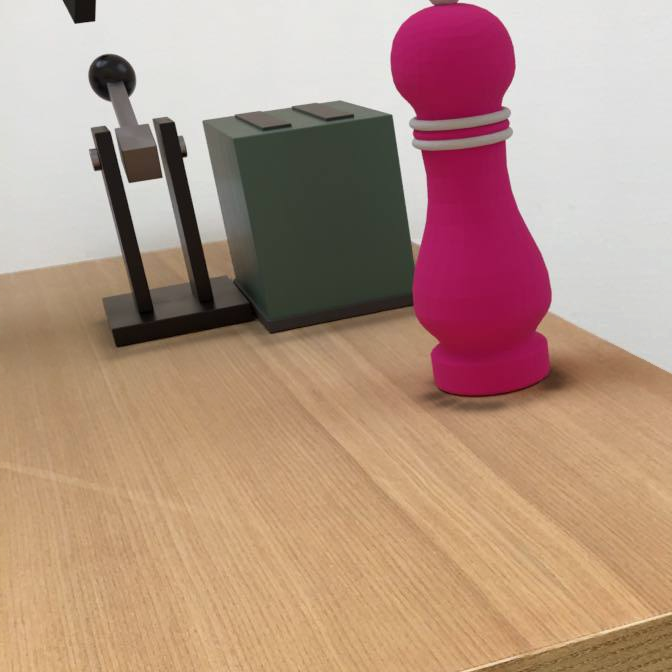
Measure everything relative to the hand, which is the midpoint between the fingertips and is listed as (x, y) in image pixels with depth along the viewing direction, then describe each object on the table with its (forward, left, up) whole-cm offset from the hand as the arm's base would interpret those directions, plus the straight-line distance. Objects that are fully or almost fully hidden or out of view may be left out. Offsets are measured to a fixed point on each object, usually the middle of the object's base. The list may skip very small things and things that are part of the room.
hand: (85, 7), depth 86 cm
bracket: (+10, -7, -20) cm, 23 cm away
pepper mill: (+40, -12, -20) cm, 46 cm away
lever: (+6, -4, -8) cm, 11 cm away
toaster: (+17, 0, -20) cm, 26 cm away
